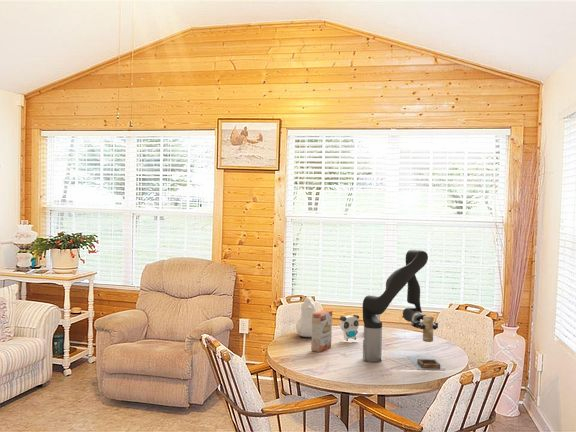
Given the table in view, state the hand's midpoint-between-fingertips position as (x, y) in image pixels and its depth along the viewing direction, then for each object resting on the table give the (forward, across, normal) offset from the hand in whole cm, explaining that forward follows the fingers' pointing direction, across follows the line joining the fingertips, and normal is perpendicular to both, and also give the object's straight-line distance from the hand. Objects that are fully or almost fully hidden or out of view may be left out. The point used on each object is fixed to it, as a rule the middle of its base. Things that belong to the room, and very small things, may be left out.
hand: (429, 327), depth 267 cm
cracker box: (-33, -51, +20) cm, 64 cm away
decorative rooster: (-66, -55, +20) cm, 89 cm away
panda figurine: (-53, -32, +20) cm, 65 cm away
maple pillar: (-3, 0, +7) cm, 8 cm away
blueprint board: (-6, 0, +20) cm, 21 cm away
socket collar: (0, 0, +20) cm, 20 cm away
